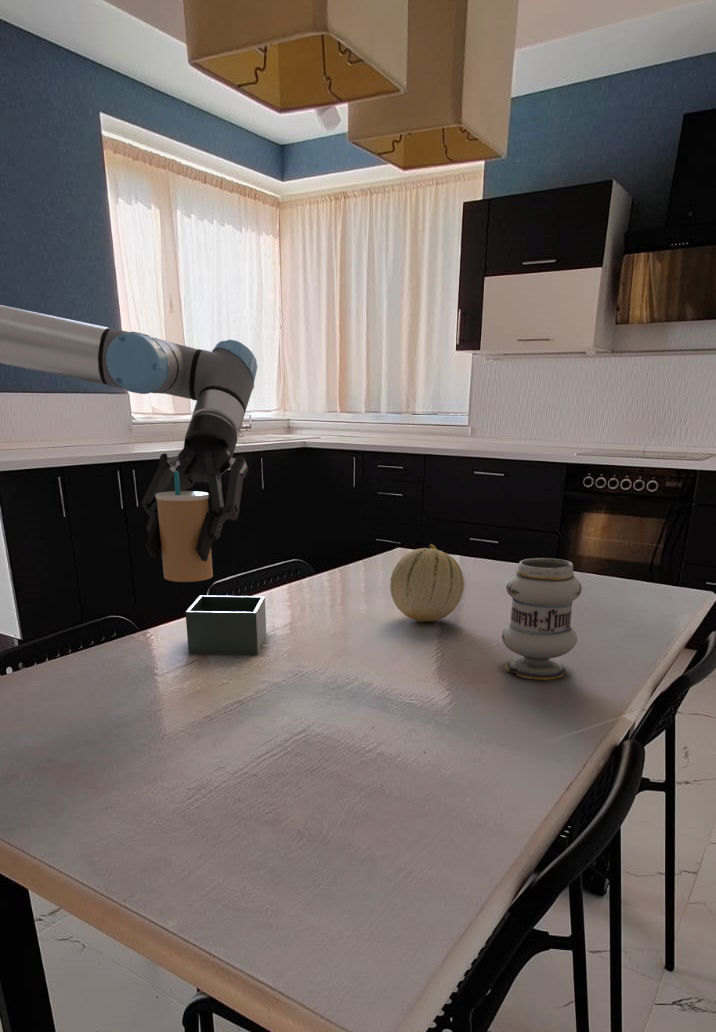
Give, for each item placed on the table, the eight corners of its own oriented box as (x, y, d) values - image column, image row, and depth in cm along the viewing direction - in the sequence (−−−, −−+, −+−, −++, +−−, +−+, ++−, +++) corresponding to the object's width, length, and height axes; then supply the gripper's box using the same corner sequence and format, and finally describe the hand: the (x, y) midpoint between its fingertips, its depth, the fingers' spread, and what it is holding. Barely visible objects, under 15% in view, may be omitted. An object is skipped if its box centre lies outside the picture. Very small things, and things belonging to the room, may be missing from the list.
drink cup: (176, 570, 120) (168, 467, 114) (221, 573, 118) (215, 468, 112) (153, 580, 113) (143, 471, 107) (201, 583, 111) (193, 472, 105)
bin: (202, 634, 146) (199, 595, 143) (266, 635, 146) (264, 596, 143) (188, 653, 135) (185, 611, 132) (257, 654, 135) (256, 612, 132)
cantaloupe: (391, 630, 151) (393, 552, 145) (387, 611, 164) (389, 539, 158) (466, 630, 151) (472, 553, 145) (456, 611, 165) (460, 540, 159)
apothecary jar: (483, 667, 130) (492, 559, 123) (532, 655, 136) (543, 552, 129) (538, 687, 121) (550, 572, 114) (587, 673, 127) (602, 564, 120)
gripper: (282, 448, 120) (248, 572, 112) (164, 446, 125) (124, 565, 117) (269, 412, 113) (232, 541, 105) (145, 410, 118) (101, 534, 110)
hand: (175, 553), depth 111 cm, fingers closed on drink cup, 7 cm apart
